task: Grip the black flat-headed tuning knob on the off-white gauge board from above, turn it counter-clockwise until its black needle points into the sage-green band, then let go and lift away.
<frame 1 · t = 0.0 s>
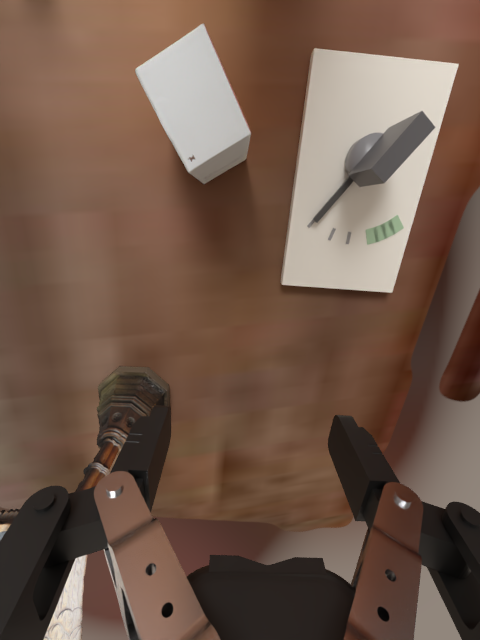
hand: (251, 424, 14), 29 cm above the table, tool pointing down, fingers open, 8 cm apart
gauge board: (354, 189, 37), on the table
small box: (209, 140, 35), on the table
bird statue: (130, 382, 47), on the table
tuning knob: (361, 178, 31), point 6 cm above the table, hinge at -35.0°
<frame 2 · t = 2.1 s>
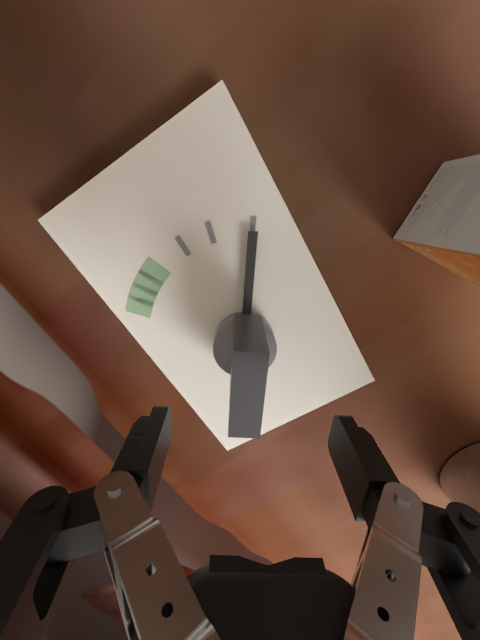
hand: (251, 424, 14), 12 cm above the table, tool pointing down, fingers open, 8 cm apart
gauge board: (226, 303, 25), on the table
small box: (452, 225, 23), on the table
tuning knob: (248, 325, 19), point 6 cm above the table, hinge at -35.0°
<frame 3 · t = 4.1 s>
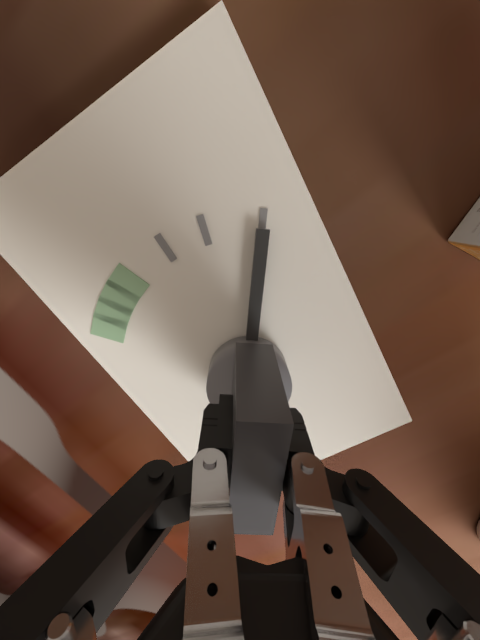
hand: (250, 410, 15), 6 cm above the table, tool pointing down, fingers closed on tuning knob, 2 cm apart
gauge board: (224, 323, 19), on the table
tuning knob: (256, 364, 13), point 6 cm above the table, hinge at -35.0°, touching gripper
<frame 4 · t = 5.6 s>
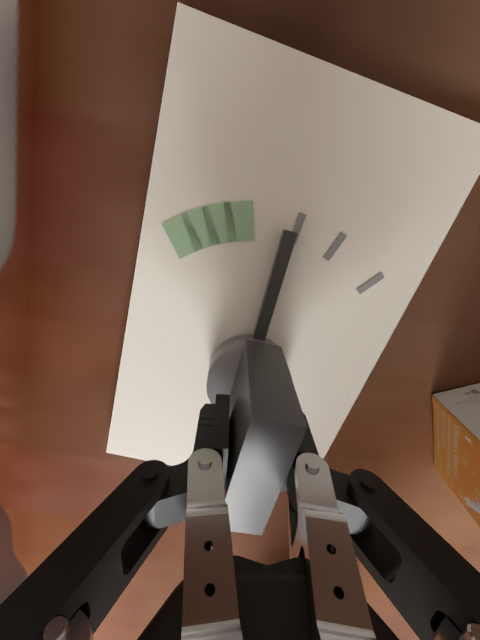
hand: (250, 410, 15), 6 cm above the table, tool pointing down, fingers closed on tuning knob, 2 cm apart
gauge board: (260, 317, 19), on the table
small box: (468, 421, 23), on the table
tuning knob: (266, 363, 13), point 6 cm above the table, hinge at 2.9°, touching gripper
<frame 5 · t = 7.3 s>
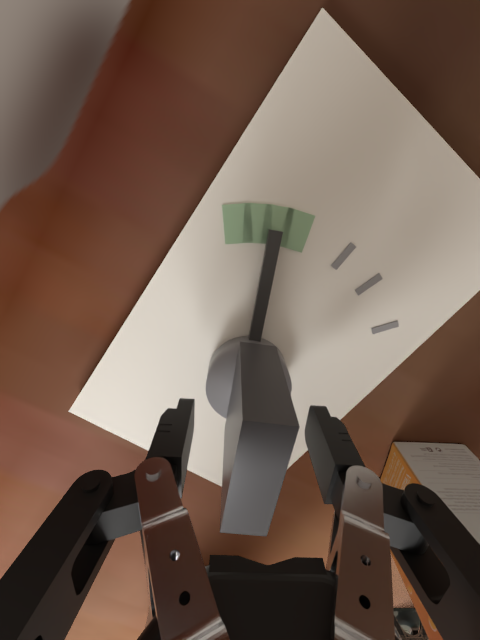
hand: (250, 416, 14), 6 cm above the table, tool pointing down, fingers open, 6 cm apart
gauge board: (272, 325, 19), on the table
small box: (411, 473, 25), on the table
tuning knob: (260, 364, 13), point 6 cm above the table, hinge at 27.3°
eiffel tower figurine: (393, 612, 35), on the table
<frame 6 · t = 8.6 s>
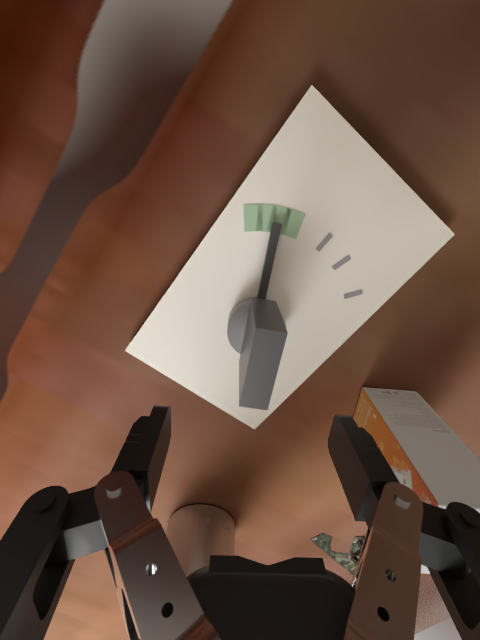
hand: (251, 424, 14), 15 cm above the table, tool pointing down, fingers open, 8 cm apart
gauge board: (274, 292, 26), on the table
small box: (377, 415, 32), on the table
tuning knob: (265, 308, 21), point 6 cm above the table, hinge at 28.1°
eiffel tower figurine: (363, 543, 42), on the table
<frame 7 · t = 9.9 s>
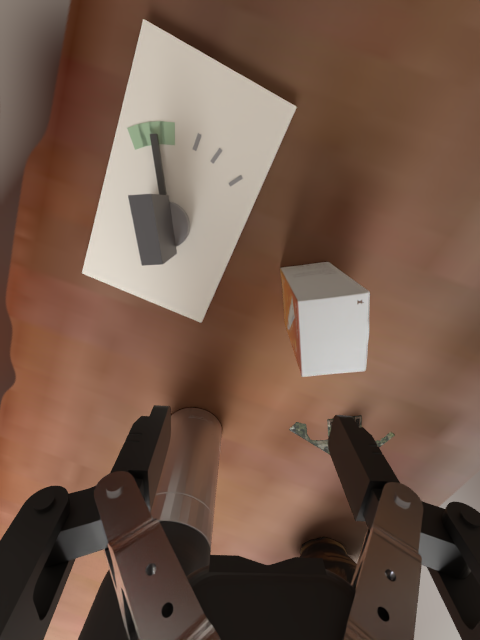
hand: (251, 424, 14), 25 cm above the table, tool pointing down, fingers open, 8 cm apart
gauge board: (180, 199, 33), on the table
small box: (304, 293, 37), on the table
ceramic jug: (323, 552, 59), on the table
tuning knob: (153, 196, 28), point 6 cm above the table, hinge at 28.2°
eiffel tower figurine: (340, 428, 47), on the table
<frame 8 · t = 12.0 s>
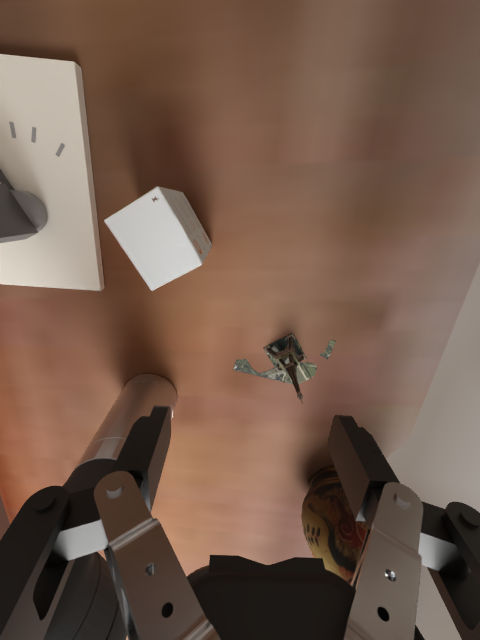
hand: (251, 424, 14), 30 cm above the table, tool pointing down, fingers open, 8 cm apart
gauge board: (31, 187, 37), on the table
small box: (179, 230, 39), on the table
ceramic jug: (334, 483, 59), on the table
eiffel tower figurine: (282, 352, 47), on the table
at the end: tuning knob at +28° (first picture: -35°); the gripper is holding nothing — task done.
